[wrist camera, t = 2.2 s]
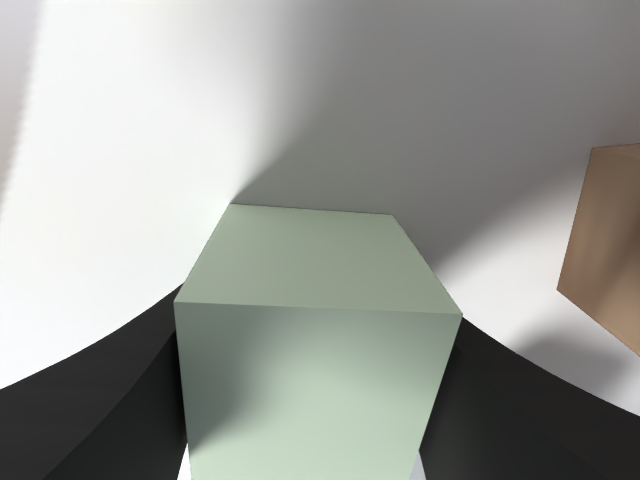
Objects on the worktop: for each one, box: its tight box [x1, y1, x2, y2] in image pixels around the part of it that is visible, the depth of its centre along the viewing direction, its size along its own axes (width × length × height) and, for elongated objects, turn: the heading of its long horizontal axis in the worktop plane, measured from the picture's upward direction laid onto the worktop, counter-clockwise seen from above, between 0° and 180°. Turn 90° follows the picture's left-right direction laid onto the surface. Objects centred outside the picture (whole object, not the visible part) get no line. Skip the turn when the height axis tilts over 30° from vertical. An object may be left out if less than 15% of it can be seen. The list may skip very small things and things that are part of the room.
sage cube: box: [173, 204, 463, 480], centre depth 9 cm, size 5×5×5 cm
